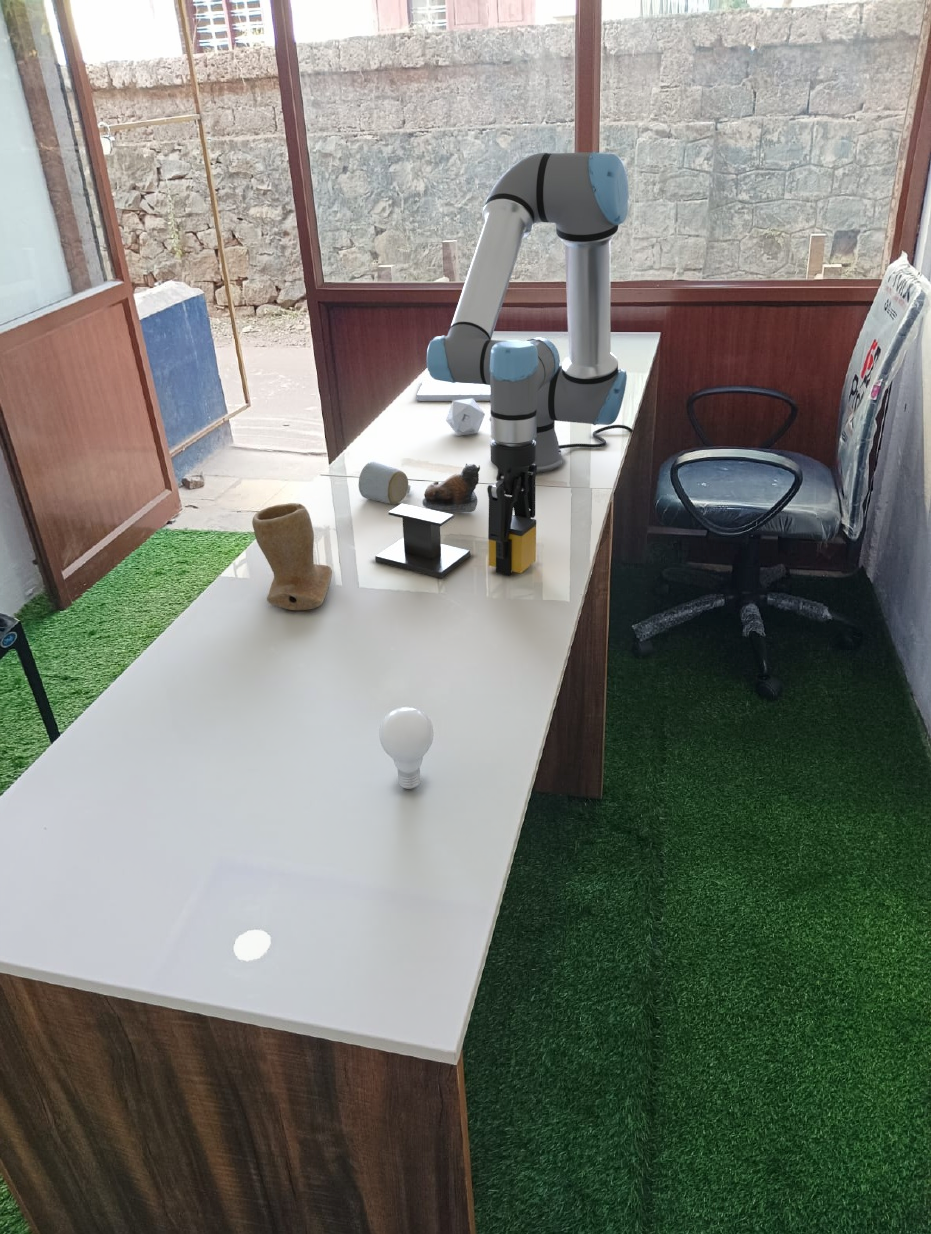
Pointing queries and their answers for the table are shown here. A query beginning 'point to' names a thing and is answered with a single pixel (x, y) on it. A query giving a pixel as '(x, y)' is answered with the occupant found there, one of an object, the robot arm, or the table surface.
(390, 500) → the ceramic mug
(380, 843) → the table surface
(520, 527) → the block
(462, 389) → the computer keyboard
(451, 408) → the die
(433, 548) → the stand
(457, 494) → the brown animal-shaped figure
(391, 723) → the lightbulb
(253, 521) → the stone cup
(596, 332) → the robot arm
